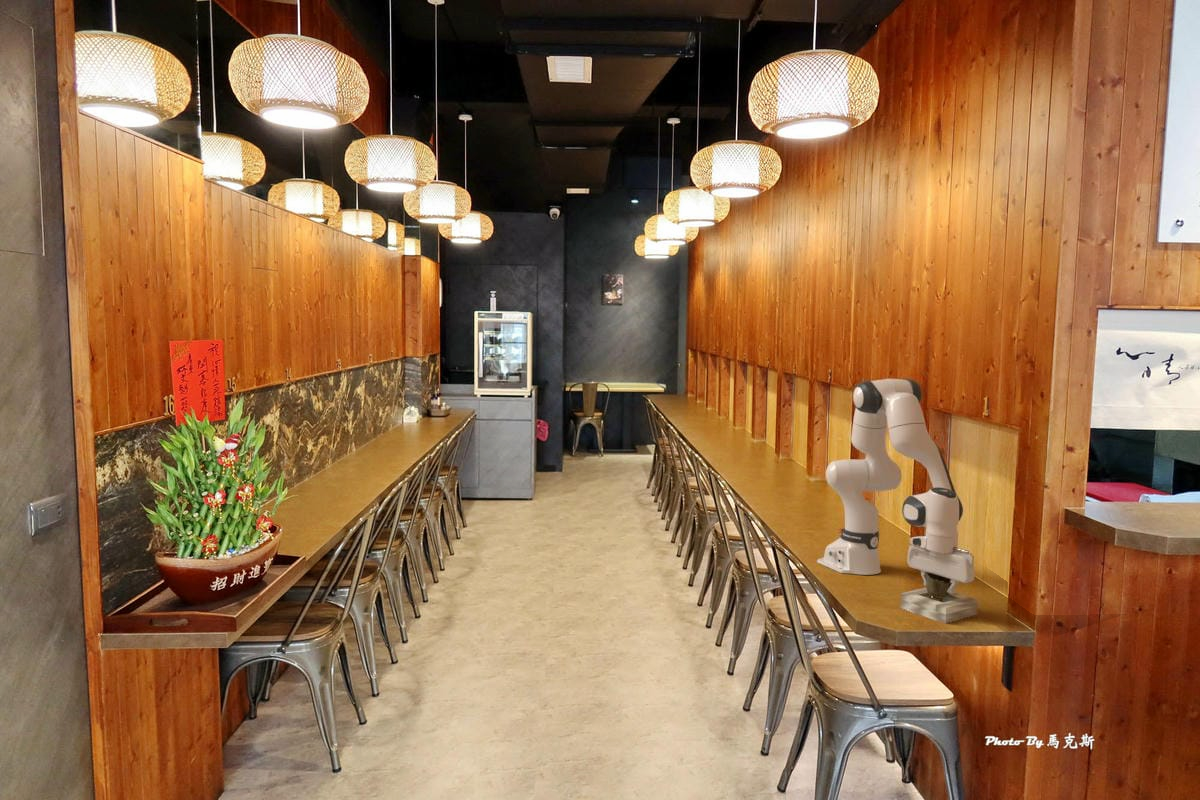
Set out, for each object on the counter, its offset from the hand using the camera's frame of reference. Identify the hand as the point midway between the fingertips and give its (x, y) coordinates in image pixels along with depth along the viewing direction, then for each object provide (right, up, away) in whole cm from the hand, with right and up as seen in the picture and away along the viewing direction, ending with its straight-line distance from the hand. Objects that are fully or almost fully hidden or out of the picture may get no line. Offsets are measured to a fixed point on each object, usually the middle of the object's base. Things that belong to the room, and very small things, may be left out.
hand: (938, 589), depth 232 cm
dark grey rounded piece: (-1, -4, +1) cm, 4 cm away
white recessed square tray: (0, -7, 0) cm, 7 cm away
